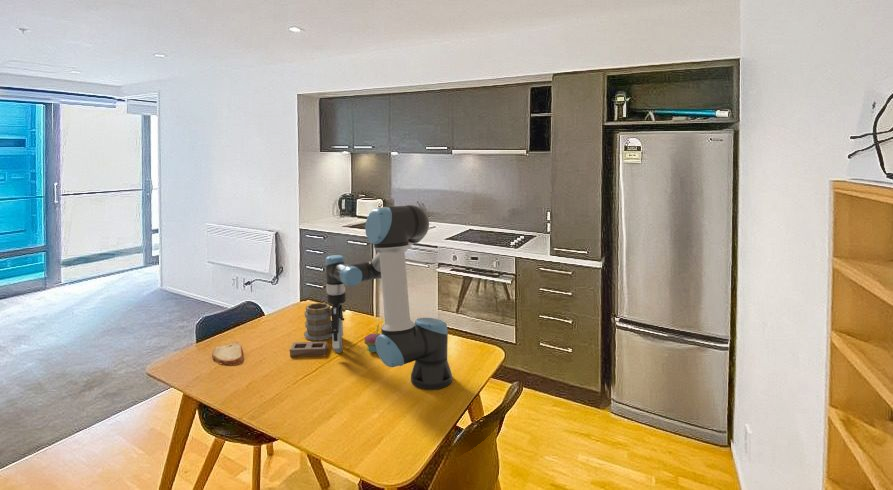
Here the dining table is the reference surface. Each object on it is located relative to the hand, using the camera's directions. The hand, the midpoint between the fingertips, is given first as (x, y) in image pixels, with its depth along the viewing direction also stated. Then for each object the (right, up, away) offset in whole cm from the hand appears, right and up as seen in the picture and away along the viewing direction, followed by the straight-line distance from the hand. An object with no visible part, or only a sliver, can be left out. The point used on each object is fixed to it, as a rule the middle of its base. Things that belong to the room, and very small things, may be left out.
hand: (338, 341), depth 208 cm
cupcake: (+15, -4, +2) cm, 16 cm away
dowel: (0, -4, +1) cm, 4 cm away
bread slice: (-43, -5, -3) cm, 44 cm away
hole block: (-12, -4, 0) cm, 13 cm away
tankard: (-9, -1, +18) cm, 20 cm away
